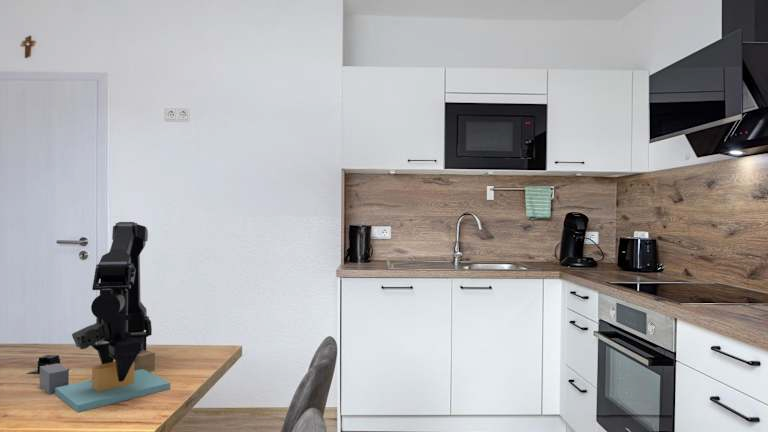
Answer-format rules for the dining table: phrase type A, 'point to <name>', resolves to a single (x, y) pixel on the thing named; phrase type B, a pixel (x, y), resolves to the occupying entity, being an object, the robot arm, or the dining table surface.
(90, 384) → the teal board
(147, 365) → the walnut brick
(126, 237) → the robot arm
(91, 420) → the dining table surface
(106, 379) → the orange brick
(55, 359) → the black angular block
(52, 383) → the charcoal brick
